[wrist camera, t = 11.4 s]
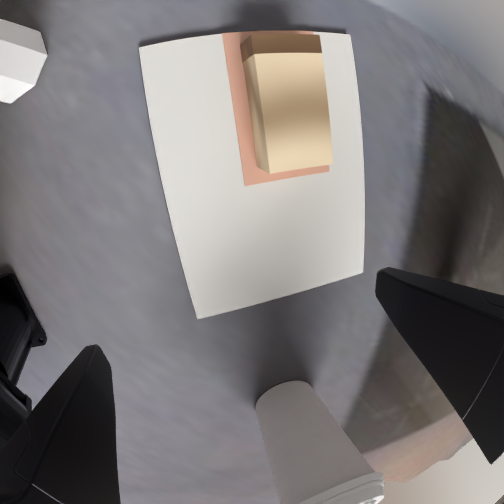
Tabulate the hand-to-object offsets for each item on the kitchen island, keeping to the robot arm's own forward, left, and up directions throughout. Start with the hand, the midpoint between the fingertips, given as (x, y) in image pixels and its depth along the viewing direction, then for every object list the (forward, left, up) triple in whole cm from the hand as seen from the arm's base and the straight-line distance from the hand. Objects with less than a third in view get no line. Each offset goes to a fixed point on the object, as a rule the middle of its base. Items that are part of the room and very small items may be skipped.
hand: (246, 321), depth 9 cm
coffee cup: (-22, -4, -12) cm, 25 cm away
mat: (+1, -5, -12) cm, 13 cm away
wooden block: (+6, -6, -12) cm, 14 cm away
